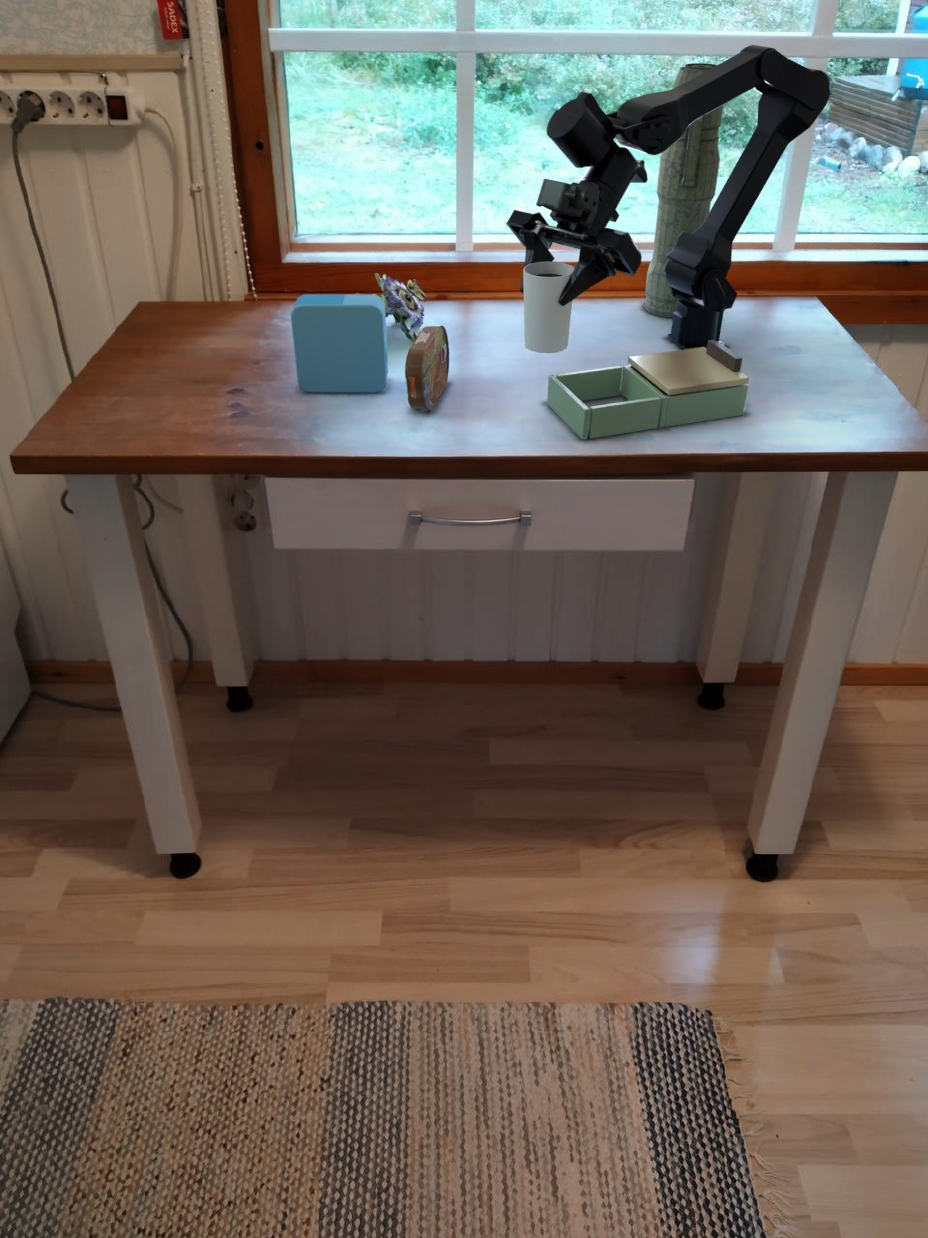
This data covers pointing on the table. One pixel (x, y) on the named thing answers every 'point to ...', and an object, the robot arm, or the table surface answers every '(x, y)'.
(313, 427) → the table surface
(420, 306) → the passion flower
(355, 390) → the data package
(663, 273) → the thermos
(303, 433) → the table surface
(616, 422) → the storage box
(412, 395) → the tin
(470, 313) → the table surface
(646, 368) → the sliding lid
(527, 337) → the white cup
